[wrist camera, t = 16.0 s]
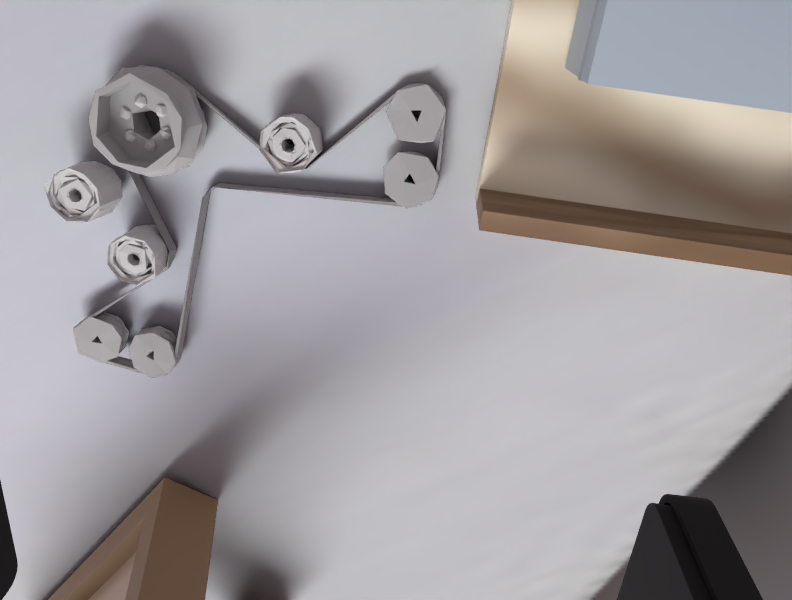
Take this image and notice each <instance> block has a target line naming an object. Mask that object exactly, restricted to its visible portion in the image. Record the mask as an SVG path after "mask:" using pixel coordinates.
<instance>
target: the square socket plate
mask: <svg viewBox="0 0 792 600" xmlns="http://www.w3.org/2000/svg"><path fill="white" fill-rule="evenodd" d="M565 68H566V69H567V70H569V71H570V72H571V73H573V74H574V75H576V76H577V77H578V80H580V81H583V82H585V83H587V84H592V85H599V86H606V87H613V88H620V89H627V90H634V91H641V92H648V93H655V94H662V95H669V96H676V97H683V98H690V99H697V100H704V101H711V102H718V103H725V104H732V105H739V106H746V107H753V108H760V109H767V110H774V111H781V112H788V113H792V0H580V2H579V6H578V11H577V15H576V20H575V24H574V29H573V33H572V38H571V42H570V46H569V51H568V55H567V60H566V64H565Z"/></svg>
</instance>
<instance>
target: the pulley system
mask: <svg viewBox="0 0 792 600" xmlns="http://www.w3.org/2000/svg"><path fill="white" fill-rule="evenodd" d="M197 97H198V98H200V99H201V100H202V101H203V102H204V103H205V104H207V105H208V106H209V107H210V108H211V109H213V110H214V111H215V112H216V113H217V114H218V115H220V116H221V117H222V118H223V119H224V120H226V121H227V122H228V123H229V124H230V125H232V126H233V127H234V128H235V129H236V130H237V131H239V132H240V133H241V134H242V135H243V136H245V137H246V138H247V139H248V140H249V141H250V142H252V143H253V144H254V145H255V146H256V147H258V148H259V150H260V151H261V153H262V154H263V156H264V158H265V160H266V161H267V162H268V163H269V164H270V165H271V167H272V168H273V169H274V171H275V172H276V173H293V172H300V171H301V170H303V169H307V168H308V167H310V166H311V165H312V164H313V163H314V162H316V161H317V160H318V159H319V158H321V157H322V156H323V155H324V154H326V153H327V152H328V151H329V150H331V149H332V148H333V147H334V146H336V145H337V144H338V143H339V142H341V141H342V140H343V139H344V138H346V137H347V136H348V135H349V134H351V133H352V132H353V131H354V130H355V129H357V128H358V127H359V126H360V125H362V124H363V123H364V122H365V121H367V120H368V119H369V118H370V117H372V116H373V115H374V114H375V113H377V112H378V111H379V110H380V109H382V108H383V107H384V106H385V105H387V104H388V103H389V102H390V101H391V103H390V105H389V107H388V109H387V111H386V112H387V115H388V117H389V120H390V123H391V125H392V128H393V130H394V132H395V134H396V136H397V138H398V140H402V141H409V142H417V143H426V142H433V141H434V140H435V138H436V137H437V135H438V133H439V131H440V129H441V135H440V143H439V151H438V159H437V167H436V169H435V165H434V164H433V163H432V162H431V161H430V160H429V158H428V157H426V156H424V155H423V154H422V153H418V152H398V153H397V154H396V155H395V156H394V157H393V158H392V159H391V160H390V161H389V162H388V163H387V164H386V165H385V166H384V167H383V168H384V185H385V194H386V195H388V196H389V197H390V198H383V197H372V196H361V195H350V194H339V193H328V192H317V191H307V190H296V189H285V188H274V187H263V186H252V185H241V184H230V183H218V184H217V185H215V186H213V187H212V188H211V189H210V190H209V191H208V192H207V193H206V194H205V196H204V197H203V198H202V203H201V209H200V214H199V220H198V225H197V231H196V236H195V242H194V248H193V253H192V259H191V264H190V270H189V276H188V281H187V287H186V292H185V298H184V303H183V309H182V315H181V320H180V326H179V331H178V337H177V338H176V336H175V335H174V333H173V332H171V331H169V330H167V329H165V328H163V327H161V326H156V327H150V328H143V329H142V330H141V331H140V333H139V335H135V336H134V338H133V341H132V343H131V345H130V347H129V352H130V355H131V359H132V360H130V359H127V358H123V357H119V356H118V354H119V353H120V352H121V351H122V350H123V349H124V348H125V346H126V342H127V339H128V336H129V331H128V329H127V328H126V326H125V325H124V323H123V322H122V320H121V319H120V317H117V316H114V315H111V314H108V313H105V312H102V311H104V310H106V309H107V308H109V307H110V306H112V305H113V304H115V303H116V302H118V301H119V300H121V299H123V298H124V297H126V296H127V295H129V294H130V293H132V292H133V291H135V290H136V289H138V288H139V287H141V286H143V285H144V284H146V283H147V282H149V281H150V280H152V279H153V278H155V277H156V276H158V275H160V274H161V273H163V272H164V271H166V270H167V269H168V268H169V267H170V266H171V264H172V261H173V258H174V256H175V253H176V251H177V248H176V246H175V244H174V242H173V240H172V238H171V236H170V234H169V232H168V230H167V228H166V226H165V224H164V222H163V220H162V218H161V216H160V214H159V212H158V210H157V208H156V206H155V204H154V202H153V200H152V198H151V196H150V194H149V192H148V190H147V188H146V186H145V184H144V182H143V180H142V178H141V176H140V175H139V174H142V175H145V176H148V177H155V176H162V175H170V174H174V173H176V172H177V171H178V170H180V169H181V168H185V167H189V166H190V165H191V163H192V162H193V161H194V159H195V158H196V156H197V155H198V154H199V152H200V151H201V150H202V149H203V147H204V142H205V136H206V131H207V124H206V121H205V113H204V112H203V110H202V109H201V107H200V105H199V102H198V99H197ZM412 110H421V114H420V116H419V119H417V118H416V116H415V115H414V114H413V112H412ZM146 111H154V112H155V113H156V114H157V116H159V121H160V127H161V130H160V131H159V132H158V133H154V132H153V131H152V129H151V127H150V125H149V123H148V121H147V118H146V116H145V112H146ZM445 117H446V108H445V105H444V101H443V99H442V97H441V95H440V94H439V93H438V92H437V91H436V90H435V89H434V88H432V87H431V86H429V85H427V84H420V83H412V84H408V85H406V86H404V87H403V88H401V89H399V90H397V92H396V93H394V94H393V95H392V96H391V97H390V98H389V99H387V100H386V101H385V102H384V103H383V104H382V105H380V106H379V107H378V108H377V109H376V110H374V111H373V112H372V113H371V114H370V115H369V116H367V117H366V118H365V119H364V120H362V121H361V122H360V123H359V124H358V125H356V126H355V127H354V128H353V129H351V130H350V131H349V132H348V133H347V134H345V135H344V136H343V137H342V138H340V139H339V140H338V141H337V142H336V143H334V144H333V145H332V146H331V147H329V148H328V149H327V150H326V151H325V152H323V153H322V154H321V155H320V156H318V155H319V154H320V153H321V152H322V151H323V143H322V136H321V131H320V128H319V127H317V125H316V124H315V123H314V122H313V121H312V120H310V119H309V118H308V117H307V116H306V115H304V114H298V113H293V114H289V115H283V116H281V117H279V118H277V119H275V120H273V121H271V122H270V123H269V124H268V125H267V126H266V127H265V128H264V129H263V130H262V131H261V134H260V143H259V142H258V141H256V140H255V139H254V138H253V137H252V136H251V135H249V134H248V133H247V132H246V131H245V130H243V129H242V128H241V127H240V126H239V125H237V124H236V123H235V122H234V121H233V120H231V119H230V118H229V117H228V116H227V115H225V114H224V113H223V112H222V111H221V110H220V109H218V108H217V107H216V106H215V105H214V104H212V103H211V102H210V101H209V100H208V99H206V98H205V97H204V96H203V95H202V94H200V93H199V92H198V91H197V90H196V89H194V88H193V87H192V86H191V85H190V84H189V83H187V82H186V81H185V80H184V79H183V78H181V77H180V76H179V75H178V74H176V73H173V72H172V71H170V70H166V69H161V68H158V67H152V66H147V65H142V64H140V65H138V66H137V67H129V68H121V69H120V70H119V71H118V73H117V74H116V75H115V76H114V77H113V78H112V79H111V80H110V81H109V82H108V83H107V84H106V85H105V86H104V87H103V88H101V89H99V90H97V91H95V94H94V99H93V103H92V107H91V111H90V115H89V124H90V130H91V135H92V140H93V145H94V146H95V147H96V148H97V149H98V150H99V151H100V152H101V153H102V154H103V155H104V157H105V158H106V159H107V160H108V161H109V162H110V163H111V164H113V165H116V166H118V167H121V168H124V169H126V170H129V172H130V174H131V176H132V178H133V180H134V182H135V184H136V186H137V188H138V190H139V192H140V194H141V196H142V198H143V200H144V202H145V204H146V206H147V207H148V209H149V211H150V213H151V215H152V217H153V219H154V221H155V223H156V225H141V226H136V227H134V228H133V229H131V230H130V231H128V232H127V233H126V234H124V235H123V236H121V237H118V238H117V239H115V240H114V241H113V242H112V243H111V244H110V245H109V248H108V263H107V264H108V266H109V267H110V268H111V270H112V271H113V272H114V274H115V275H116V276H117V278H118V279H119V280H120V281H123V282H127V283H131V284H135V285H138V284H140V283H142V284H140V285H139V286H137V287H135V288H134V289H132V290H131V291H129V292H127V293H126V294H124V295H122V296H121V297H119V298H118V299H116V300H114V301H113V302H111V303H110V304H108V305H106V306H105V307H103V308H101V309H100V310H98V311H97V312H95V313H93V314H92V315H90V316H88V317H87V318H85V319H84V320H83V321H81V322H80V323H79V324H78V325H76V326H75V327H74V328H73V331H74V336H75V340H76V345H77V349H78V353H80V354H82V355H84V356H86V357H89V358H91V359H93V360H96V361H99V362H103V363H107V364H111V365H114V366H118V367H122V368H125V369H129V370H133V371H136V372H140V373H144V374H146V375H148V376H149V377H151V378H153V377H157V376H162V375H167V374H168V373H169V372H170V371H171V370H172V369H173V368H174V367H175V366H176V365H177V363H178V362H179V360H180V358H181V355H182V349H183V344H184V338H185V332H186V327H187V321H188V316H189V310H190V304H191V299H192V293H193V287H194V282H195V276H196V270H197V265H198V259H199V253H200V248H201V242H202V236H203V231H204V225H205V219H206V214H207V208H208V202H209V197H210V191H211V190H212V189H215V188H217V187H218V188H227V189H237V190H247V191H256V192H266V193H276V194H285V195H295V196H305V197H314V198H324V199H334V200H343V201H353V202H363V203H372V204H382V205H392V206H401V207H405V208H411V207H417V206H419V205H422V204H423V203H425V202H427V201H430V200H432V198H433V196H434V194H435V192H436V190H437V187H438V182H439V173H440V163H441V154H442V145H443V136H444V126H445ZM441 126H442V127H441ZM290 139H291V140H293V142H294V144H295V145H292V144H290ZM317 156H318V157H317ZM316 157H317V158H316ZM315 158H316V159H315ZM313 159H315V160H314V161H312V160H313ZM311 161H312V162H311ZM310 162H311V163H310ZM309 163H310V164H309ZM308 164H309V165H308ZM409 174H410V175H411V176H412V178H413V181H412V182H410V181H409V178H408V175H409ZM44 188H45V191H46V194H47V197H48V200H49V203H50V205H51V207H52V208H53V209H54V210H55V211H56V212H57V213H58V214H59V215H60V216H62V217H63V218H64V219H65V220H66V221H72V222H88V221H90V220H93V219H96V218H98V217H101V216H103V215H106V214H108V213H111V212H112V211H113V209H114V208H115V206H116V205H117V204H118V202H119V201H120V200H121V198H122V185H121V180H120V179H119V177H118V176H117V174H116V173H115V171H114V170H113V168H111V167H108V166H106V165H104V164H102V163H99V162H97V161H87V162H80V163H78V164H76V165H73V166H71V167H69V168H67V169H64V170H61V171H59V172H58V173H56V174H54V175H53V177H52V178H51V179H50V180H49V181H48V183H47V184H46V185H45V186H44ZM165 267H166V268H165ZM164 268H165V269H164Z"/></svg>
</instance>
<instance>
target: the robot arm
mask: <svg viewBox="0 0 792 600" xmlns="http://www.w3.org/2000/svg"><path fill="white" fill-rule="evenodd" d="M17 566H18V565H17V557H16V553H15V548H14V543H13V538H12V534H11V529H10V524H9V519H8V515H7V510H6V505H5V500H4V496H3V491H2V486H1V482H0V600H2V599H3V597H4V596H5V595H6V593H7V592H8V591H9V589H10V587H11V586H12V584H13V581H14V579H15V576H16V573H17ZM617 600H763V599H762V597H761V595H760V593H759V591H758V589H757V587H756V585H755V583H754V581H753V579H752V578H751V576H750V574H749V572H748V570H747V568H746V566H745V564H744V562H743V560H742V558H741V556H740V554H739V552H738V550H737V548H736V546H735V544H734V542H733V540H732V539H731V537H730V535H729V533H728V531H727V529H726V527H725V525H724V523H723V521H722V519H721V517H720V515H719V513H718V511H717V509H716V508H715V506H714V504H713V503H712V502H711V501H710V500H708V499H705V498H697V497H688V496H680V495H671V494H666V495H664V496H663V497H662V498H661V500H660V502H659V504H655V503H650V504H649V505H648V506H647V508H646V510H645V513H644V516H643V519H642V523H641V526H640V529H639V532H638V535H637V538H636V541H635V545H634V548H633V551H632V554H631V557H630V560H629V563H628V566H627V570H626V573H625V576H624V579H623V582H622V585H621V588H620V592H619V595H618V598H617Z"/></svg>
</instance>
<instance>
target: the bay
mask: <svg viewBox="0 0 792 600" xmlns="http://www.w3.org/2000/svg"><path fill="white" fill-rule="evenodd" d="M579 2H580V0H512V3H511V8H510V14H509V19H508V25H507V30H506V35H505V41H504V46H503V52H502V57H501V62H500V68H499V73H498V79H497V84H496V89H495V95H494V100H493V106H492V111H491V116H490V122H489V127H488V133H487V138H486V143H485V149H484V154H483V160H482V165H481V170H480V176H479V181H478V187H477V192H476V198H475V199H476V207H477V215H478V223H479V230H482V231H489V232H496V233H503V234H509V235H516V236H523V237H530V238H537V239H544V240H551V241H558V242H564V243H571V244H578V245H585V246H592V247H599V248H606V249H613V250H620V251H626V252H633V253H640V254H647V255H654V256H661V257H668V258H675V259H681V260H688V261H695V262H702V263H709V264H716V265H723V266H730V267H737V268H743V269H750V270H757V271H764V272H771V273H778V274H785V275H792V113H788V112H781V111H774V110H767V109H760V108H753V107H746V106H739V105H732V104H725V103H718V102H711V101H704V100H697V99H690V98H683V97H676V96H669V95H662V94H655V93H648V92H641V91H634V90H627V89H620V88H613V87H606V86H599V85H592V84H587V83H585V82H583V81H580V80H578V77H577V76H576V75H574V74H573V73H571V72H570V71H569V70H567V69H566V68H565V64H566V60H567V55H568V51H569V46H570V42H571V38H572V33H573V29H574V24H575V20H576V15H577V11H578V6H579Z"/></svg>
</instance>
